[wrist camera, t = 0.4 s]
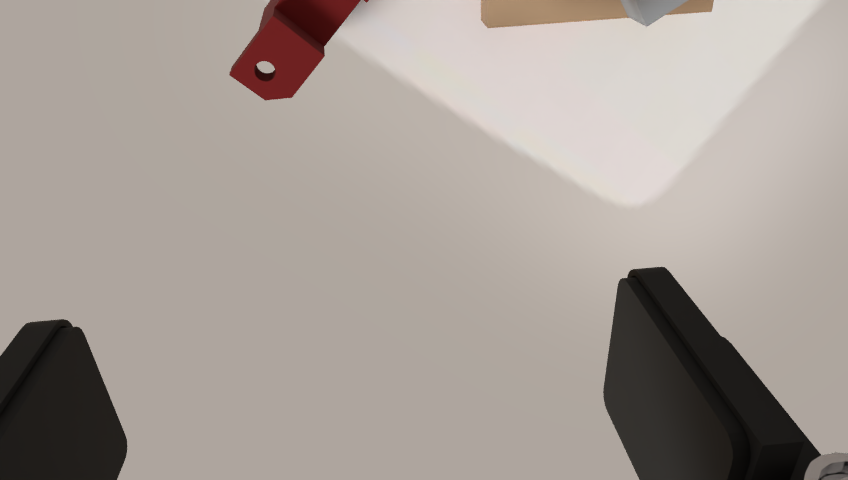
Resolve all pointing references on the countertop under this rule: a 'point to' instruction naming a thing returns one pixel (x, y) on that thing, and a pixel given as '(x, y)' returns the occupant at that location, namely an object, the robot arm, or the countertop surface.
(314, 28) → the bracket
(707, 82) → the countertop surface
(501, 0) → the jig
